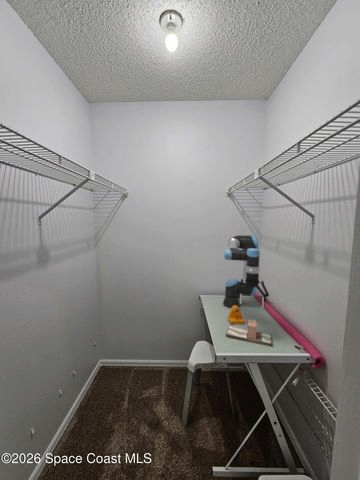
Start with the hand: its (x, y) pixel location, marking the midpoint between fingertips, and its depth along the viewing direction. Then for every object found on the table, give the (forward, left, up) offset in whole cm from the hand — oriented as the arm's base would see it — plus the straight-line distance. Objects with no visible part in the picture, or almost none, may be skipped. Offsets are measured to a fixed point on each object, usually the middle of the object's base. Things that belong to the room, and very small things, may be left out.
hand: (251, 305), depth 132 cm
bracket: (-18, -11, -22) cm, 31 cm away
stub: (0, +1, -20) cm, 20 cm away
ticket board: (0, -1, -22) cm, 22 cm away
